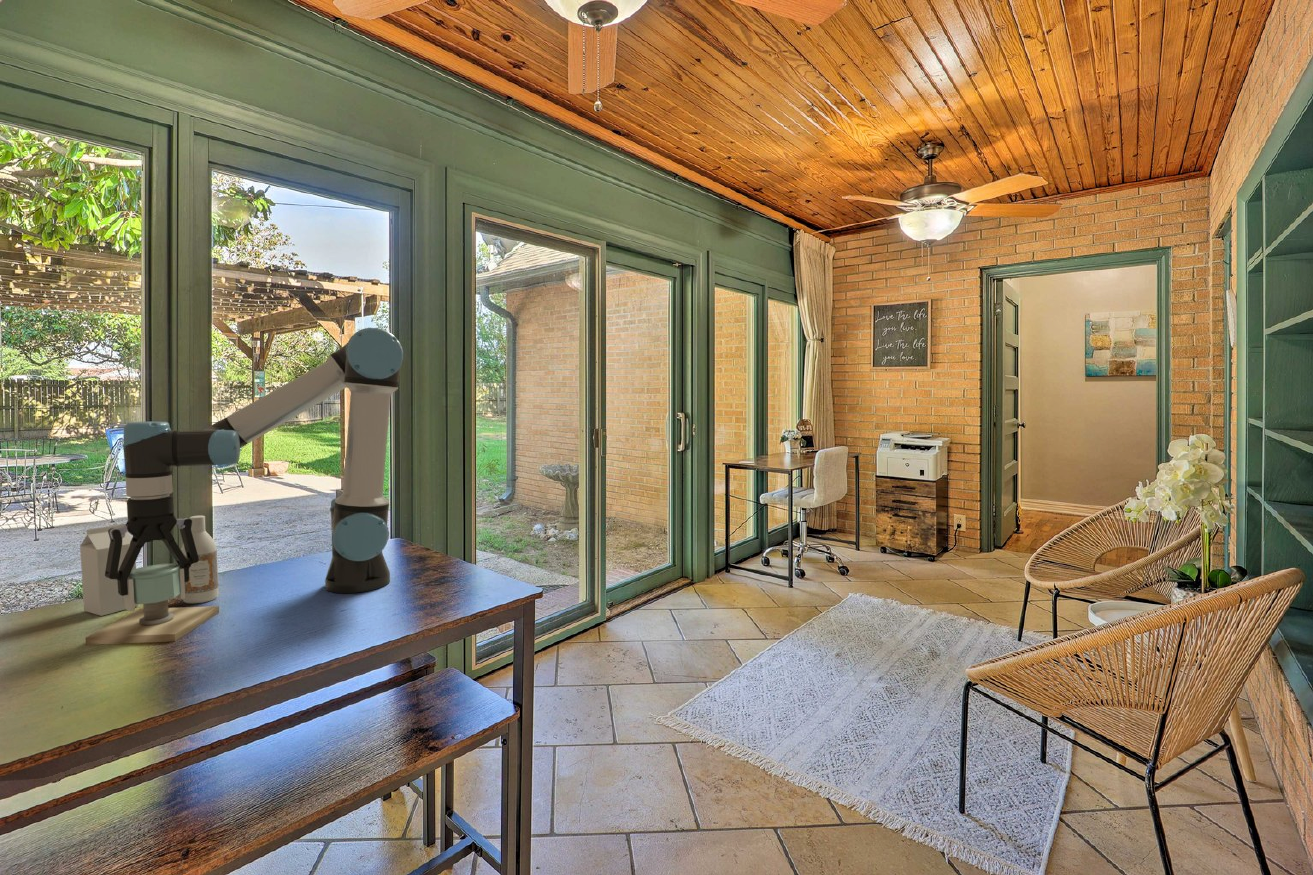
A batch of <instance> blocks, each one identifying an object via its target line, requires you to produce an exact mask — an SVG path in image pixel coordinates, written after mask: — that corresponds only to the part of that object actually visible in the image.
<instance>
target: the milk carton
mask: <svg viewBox="0 0 1313 875" xmlns="http://www.w3.org/2000/svg"><path fill="white" fill-rule="evenodd" d="M125 525H126V523H121V524H116V525H115V524H114V525H109V526H103V527H96V528H90V529H86V535H85V537H84V539H83V540H82V542H81V544H80V545H79V550H80V552H79V553H80V564H81V567H80V568H81V581H82V582H81V584H82V596H83V598H82V599H83V610H84V612H86V613H90V614H93V615H96V616H100V617H101V616H102V617H103V616H106V615H110V614H114V613H118V612H120V611H121V612H122V611H125V610H126V609H125V600H124V596H121V595H119V593H118V582H117V579H109V578H107V577H105V570H106V564H107V558H108V552H109V546H110V537H109V533H108V530H109V529H111V528H114V529H116V528H120V527H123V526H125ZM132 537H133V536H132V535H131V534H130V533H129V532H128V531H127V532H126V533H125V537H124V538H122V548H121V554H120V560H119V567H118V570H119V568H120V566H121V564H122V562H123V560H124V557H125V555H126V553H127V551H128V549H129V546H130V542H131V540H132ZM134 569H137V561H136V562H135V564H134V566H133V568H132V570H134ZM132 570H131V571H132ZM134 604H135V603H134ZM138 606H139V604H135V608H136V607H138ZM126 611H127V610H126Z"/></svg>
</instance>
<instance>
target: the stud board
mask: <svg viewBox="0 0 1313 875" xmlns="http://www.w3.org/2000/svg"><path fill="white" fill-rule="evenodd" d="M142 605H143V608H139V609H137V610H135V611H132V612H131V613H130V614H127V615H126V616H124V617H122V618H120V619H118V620H116V621H114V622H113V623H110V624H109V625H106V626H105V627H104V626H103V628H101V629H99V630H97V631H95V632H92V633H91V634H89V635H86V636H85V637H84V639H85V645H86V646H89V645H90V646H91V645H92V646H93V645H95V646H96V645H115V644H136V643H137V644H138V643H139V644H140V643H144V644H145V643H163V642H165V643H167V642H177V641H178V640H179V639H181V638H182V637H184V636H186V635H188V634H189V633H190V632H192V631H194V630H195V629H197V628H198V627H199V626H201V625H203V624H205V623H206V622H207V621H209V620H210V619H212V618H213V617H215V616H216V615H218V614H220V606H219V605H218V606H217V605H216V606H215V605H214V606H213V605H212V606H211V605H210V606H186V607H183V606H182V607H169V602H168V600H165V601H161V602H158V603H148V604H142Z"/></svg>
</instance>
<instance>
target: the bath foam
mask: <svg viewBox="0 0 1313 875" xmlns="http://www.w3.org/2000/svg"><path fill="white" fill-rule="evenodd" d="M189 519H191V520H192V526H191V531H192V535H193V539H194V543H195V546H196V550H197V554H198V558H199V561H198V562H197V563H193V564H191V567H190V568H189V581H188V582H185V599H182V600H183V602H184V603H186V604H193V605H194V604H201V603H208V602H210V601H213V600H216V599H217V598H218V597H219V591H220V590H219V568H218V566H219V565H218V550H217V544H216V542H215V540H214V539H213V537H212V536H211V535H210V534H209V533H208V532H207V530H206V516H205V515H193V516H190V517H189ZM180 550H181V551H182V553H183V554H184V556H185V557H186V559H187V555H186V551H185V548H184V544H183V543H182V545H181V547H180Z"/></svg>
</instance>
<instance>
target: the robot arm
mask: <svg viewBox="0 0 1313 875" xmlns="http://www.w3.org/2000/svg"><path fill="white" fill-rule="evenodd" d="M403 361H404V349H403V347H402V344H401V343H400V341H399V339H398V338H397V337H396V336H395V335H394V334H392V333H391V332H389V331H387V330H386V329H382V328H378V327H364V328H362V329H359V330H358V331H355V333H353V335H351V337H350V338H349V340H348V342H346V344H344V345H343V346H342V347H341V348H339V349H337V350H336V351H334V352H333V353H331V354H329V355H328V356H327V360H326V362H325V361H324V363H321V364H320V365H318V366H316V367H315V368H313V369H311V370H309V371H307V372H305V373H303V374H301V375H299V376H298V377H296V378H294V379H293V380H291V381H289V382H287V383H285V384H283V385H281V386H280V387H278V388H276V389H274V390H272V391H271V392H269V393H268V394H266V395H264V396H262V397H260V398H258V399H257V400H255V401H253V402H251V403H249V404H248V405H246V406H244V407H242V408H241V409H238V410H237V411H235V412H234V413H233V412H232V413H231V414H230V415H228V416H226V417H225V418H222V419H220V420H218V421H217V422H215V423H213V424H212V425H210V426H207V427H205V428H203V429H201V430H199V429H198V430H172V429H171V427H170V423H169V422H168V421H159V420H158V421H153V420H152V421H150V420H149V421H132V422H127V423H126V424H125V425H124V427H123V443H122V450H123V460H124V473H125V495H126V496H127V497H128V498H127V500H126V513H127V514H126V515H127V516H126V517H127V522H126V523H125V524H126V525H125V526H123V527H120V528H116V529H114V528H111V529H109V530H108V533H109V537H110V546H109V552H108V558H107V564H106V570H105V577H107V578H109V579H117V582H118V593H119V595H121V596H124V600H125V609H126V611H128V612H135V611H136V609H135V608H136V607H135V604H134V586H133V579H131V578H129V575H130V573H131V570H132V568H133V566H134V564H135V562H136V563H137V559H138V557H139V555H140V552H141V550H142V548H143V547H144V546H145V544H146V543H150V542H152V541H162V542H163V543H164V545H165V546H166V548H167V550H168V551H169V553H170V554H171V556H172V558H174V560H175V562H176V564H177V565H178V566H179V580H180V594H179V595H177V596H176V597H175V598H177V599H179V600H183V599H185V582H188V581H189V568H190V567H191V564H193V563H197V562H198V561H199V558H198V554H197V550H196V546H195V543H194V539H193V535H192V531H191V526H192V520H191V519H190V518H187V517H183V518H176V516H175V514H174V513H175V509H174V508H175V506H174V496H172V495H171V494H172V493H173V492H174V486H173V485H174V484H173V472H172V469H173V467H178V468H179V467H199V466H203V467H204V466H218V467H221V466H224V465H226V466H227V465H234V464H237V463H238V462H239V461H240V455H241V448H244V447H245V446H246V445H249V444H250V443H251V442H254V441H255V440H257V439H258V438H260V437H263V436H264V435H265V434H268V433H269V432H271V431H272V430H274V429H276V428H277V427H279V426H281V425H283V424H285V423H287V422H288V421H291V420H292V419H293V418H295V417H297V416H299V415H301V414H302V413H304V412H306V411H308V410H310V409H312V408H313V407H315V406H316V405H318V404H320V403H322V402H323V401H326V400H327V399H329V398H331V397H332V396H334V395H335V394H337V393H339V392H341V391H342V390H344V389H346V388H348V390H349V391H350V398H349V399H350V400H349V411H348V420H347V421H348V422H347V423H348V424H347V436H346V448H345V449H346V450H345V464H344V473H343V474H344V476H343V484H342V485H343V487H342V488H343V489H342V494H341V495H340V496H338V497H334V498H333V499H332V500H331V502H330V508H329V511H330V522H331V523H330V524H331V554H332V555H331V561H330V564H329V567H328V569H327V572H326V576H325V579H324V583H325V585H324V586H325V590H326V591H328V592H331V593H336V594H354V593H355V594H357V593H362V592H363V593H364V592H370V591H373V590H377V589H380V588H383V587H386V586H387V585H388V584H389V583H390V582H391V572H390V569H389V566H388V563H387V562H386V558H385V556H384V554H383V550H384V549H385V547H386V545H387V543H388V542H389V538H390V531H389V526H388V519H389V508H390V507H389V505H390V502H389V500H388V499H387V498H386V497H385V496H384V494H383V493H384V483H385V482H384V481H385V470H386V458H387V446H388V432H389V420H390V409H391V396H392V395H393V394H394V392H396V391H397V390H399V383H400V370H401V367H402V364H403ZM175 526H176V527H177V528H178V529H179V532H180V536H181V540H182V545H183V544H184V548H185V551H186V555H187V559H186V557H185V556H184V554H183V553H182V551H181V547H180V546H179V545H178V544H177V542H176V540H175V537H174V536H173V534H172V533H171V532H172V530H173V529H174V527H175ZM127 531H128V532H129V534H130V536H131V537H132V540H131V542H130V546H129V549H128V551H127V553H126V555H125V557H124V560H123V562H122V564H121V566H120V568H119V570H118V567H119V560H120V554H121V548H122V538H124V537H125V533H126V532H127Z"/></svg>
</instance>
